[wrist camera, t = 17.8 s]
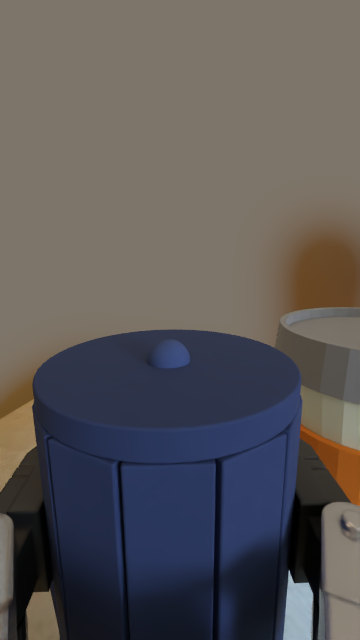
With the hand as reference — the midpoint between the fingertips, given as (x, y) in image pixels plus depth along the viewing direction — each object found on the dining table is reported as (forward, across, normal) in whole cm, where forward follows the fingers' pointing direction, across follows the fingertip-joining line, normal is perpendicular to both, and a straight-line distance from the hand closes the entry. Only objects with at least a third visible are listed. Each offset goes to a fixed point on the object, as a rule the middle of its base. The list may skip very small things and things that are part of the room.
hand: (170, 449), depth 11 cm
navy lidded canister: (0, +1, +6) cm, 6 cm away
